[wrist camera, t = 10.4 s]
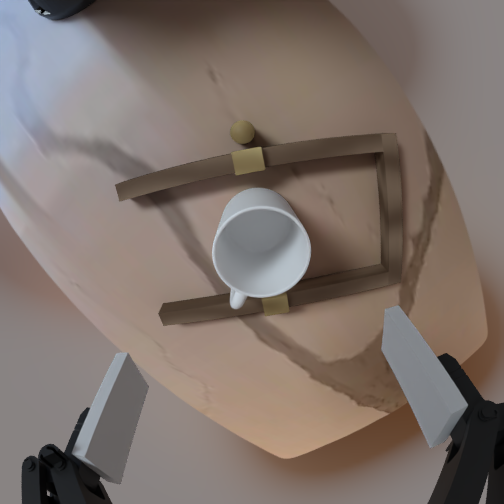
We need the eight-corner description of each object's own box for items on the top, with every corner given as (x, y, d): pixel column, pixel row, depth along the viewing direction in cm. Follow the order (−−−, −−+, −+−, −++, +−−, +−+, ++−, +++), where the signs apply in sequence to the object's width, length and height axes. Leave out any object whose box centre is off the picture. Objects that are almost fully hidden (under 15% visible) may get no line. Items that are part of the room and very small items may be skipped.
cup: (304, 201, 32) (327, 227, 23) (265, 288, 36) (271, 338, 27) (236, 175, 31) (231, 191, 21) (203, 267, 35) (189, 313, 26)
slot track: (117, 156, 29) (105, 158, 26) (382, 107, 28) (395, 105, 25) (168, 316, 38) (162, 330, 35) (393, 275, 36) (403, 286, 33)
